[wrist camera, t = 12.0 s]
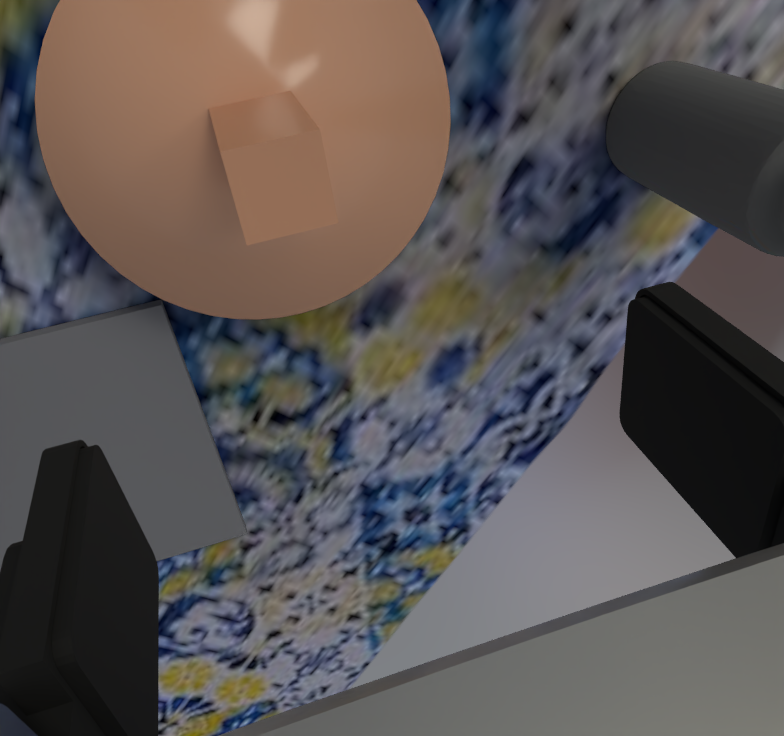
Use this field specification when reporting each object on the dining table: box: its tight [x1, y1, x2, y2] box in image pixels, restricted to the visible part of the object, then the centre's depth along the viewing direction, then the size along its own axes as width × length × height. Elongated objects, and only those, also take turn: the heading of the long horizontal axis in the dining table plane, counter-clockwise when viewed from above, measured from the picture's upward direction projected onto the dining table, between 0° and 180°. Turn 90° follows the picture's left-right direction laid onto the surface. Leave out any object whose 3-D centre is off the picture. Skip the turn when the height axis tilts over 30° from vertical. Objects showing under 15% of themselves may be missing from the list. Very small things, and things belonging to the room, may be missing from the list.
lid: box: [35, 0, 451, 320], centre depth 25 cm, size 16×16×7 cm
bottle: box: [606, 61, 784, 256], centre depth 29 cm, size 6×6×15 cm
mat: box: [0, 299, 247, 570], centre depth 36 cm, size 16×16×1 cm
